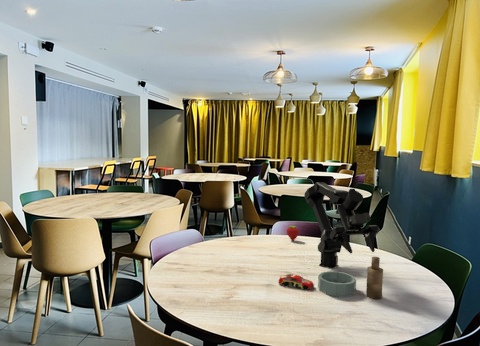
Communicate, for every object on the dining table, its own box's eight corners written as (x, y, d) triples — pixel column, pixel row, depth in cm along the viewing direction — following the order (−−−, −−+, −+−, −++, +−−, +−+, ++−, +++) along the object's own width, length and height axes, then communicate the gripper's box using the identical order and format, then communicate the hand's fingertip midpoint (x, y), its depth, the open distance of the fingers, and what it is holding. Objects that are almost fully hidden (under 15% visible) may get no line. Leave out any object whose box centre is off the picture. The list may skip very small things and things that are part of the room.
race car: (315, 287, 135) (315, 276, 135) (311, 292, 130) (312, 281, 130) (281, 280, 141) (281, 271, 140) (277, 285, 136) (277, 275, 136)
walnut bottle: (364, 297, 126) (366, 258, 125) (367, 292, 130) (369, 254, 129) (380, 301, 123) (382, 260, 122) (383, 295, 127) (384, 257, 126)
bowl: (313, 291, 130) (313, 279, 130) (325, 280, 141) (325, 269, 141) (349, 299, 124) (350, 287, 123) (358, 287, 135) (359, 275, 134)
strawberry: (294, 243, 196) (295, 225, 195) (283, 240, 201) (284, 222, 200) (301, 241, 200) (301, 223, 199) (290, 238, 205) (290, 221, 205)
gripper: (334, 205, 135) (348, 242, 125) (378, 204, 139) (395, 240, 130) (324, 222, 143) (336, 257, 133) (365, 220, 148) (380, 254, 138)
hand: (362, 252), depth 133 cm, fingers open, 9 cm apart
